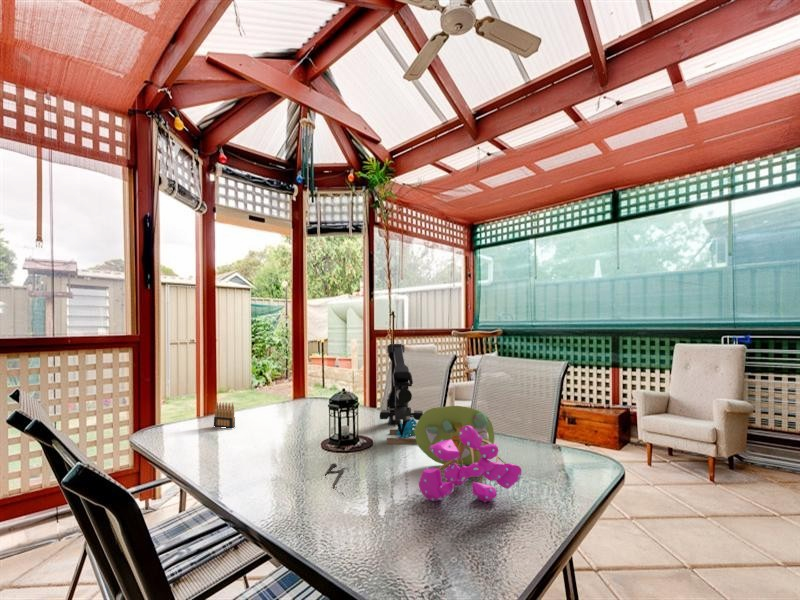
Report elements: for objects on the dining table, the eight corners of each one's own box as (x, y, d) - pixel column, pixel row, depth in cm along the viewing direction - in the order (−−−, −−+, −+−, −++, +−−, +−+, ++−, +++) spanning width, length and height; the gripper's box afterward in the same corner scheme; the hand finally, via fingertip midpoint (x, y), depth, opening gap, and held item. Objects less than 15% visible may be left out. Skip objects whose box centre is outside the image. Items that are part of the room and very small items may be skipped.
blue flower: (392, 431, 167) (406, 414, 170) (399, 439, 169) (412, 421, 173) (406, 441, 158) (420, 422, 161) (413, 449, 160) (427, 430, 164)
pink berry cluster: (488, 380, 129) (511, 421, 95) (509, 457, 131) (538, 525, 96) (405, 401, 132) (397, 448, 97) (426, 475, 134) (426, 548, 99)
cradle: (389, 433, 169) (389, 426, 169) (433, 434, 168) (433, 427, 168) (386, 443, 155) (386, 436, 155) (435, 444, 154) (435, 437, 154)
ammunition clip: (213, 427, 179) (214, 402, 180) (216, 426, 181) (216, 401, 182) (232, 429, 176) (233, 403, 177) (235, 428, 178) (235, 402, 179)
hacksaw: (331, 466, 132) (331, 462, 132) (360, 468, 130) (360, 463, 131) (306, 498, 108) (306, 492, 108) (341, 500, 107) (341, 494, 107)
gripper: (378, 402, 155) (377, 440, 154) (423, 402, 154) (423, 441, 153) (381, 396, 166) (380, 432, 165) (423, 397, 165) (423, 433, 164)
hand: (401, 435), depth 162 cm, fingers closed
